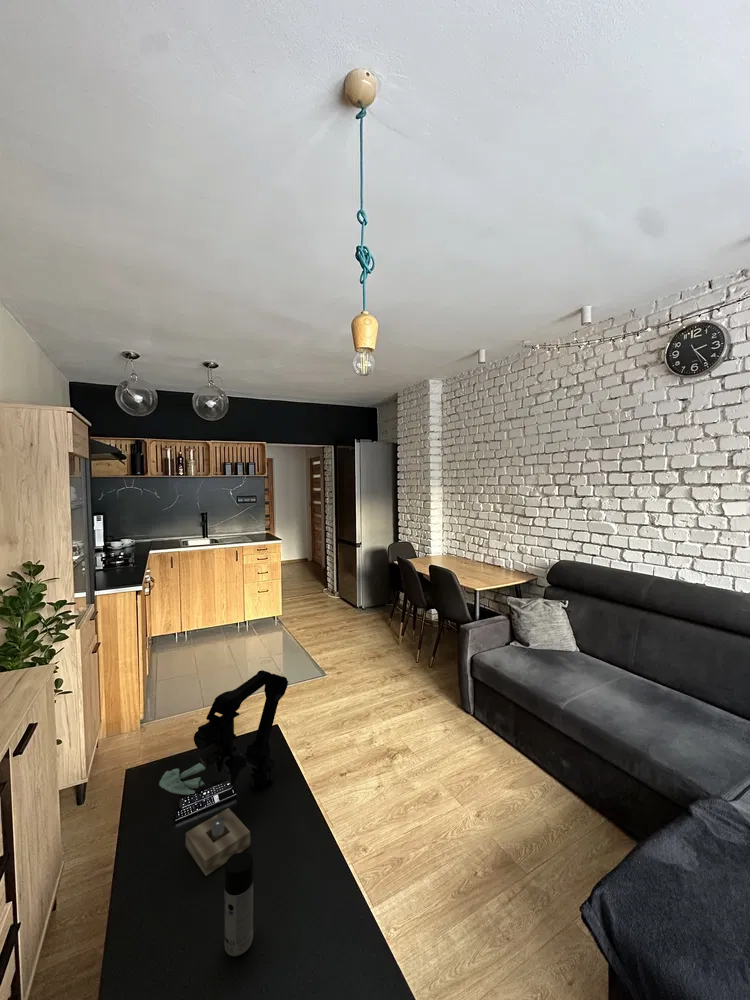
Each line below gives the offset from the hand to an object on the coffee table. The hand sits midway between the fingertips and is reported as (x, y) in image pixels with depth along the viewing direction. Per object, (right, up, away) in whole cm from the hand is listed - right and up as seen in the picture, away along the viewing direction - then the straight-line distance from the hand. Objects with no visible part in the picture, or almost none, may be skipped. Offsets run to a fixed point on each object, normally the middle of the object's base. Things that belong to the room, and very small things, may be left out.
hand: (225, 778), depth 142 cm
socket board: (+2, -12, -13) cm, 18 cm away
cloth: (-20, -13, +17) cm, 29 cm away
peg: (+2, -12, -13) cm, 18 cm away
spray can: (+18, -13, -40) cm, 46 cm away
